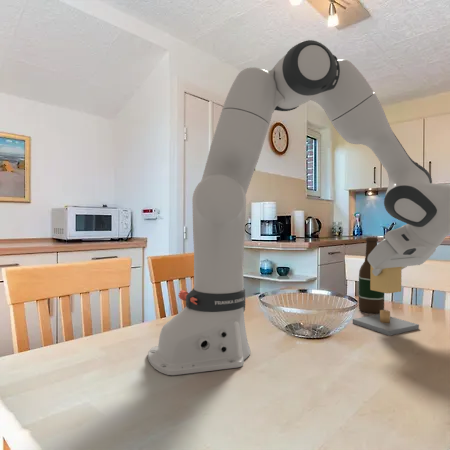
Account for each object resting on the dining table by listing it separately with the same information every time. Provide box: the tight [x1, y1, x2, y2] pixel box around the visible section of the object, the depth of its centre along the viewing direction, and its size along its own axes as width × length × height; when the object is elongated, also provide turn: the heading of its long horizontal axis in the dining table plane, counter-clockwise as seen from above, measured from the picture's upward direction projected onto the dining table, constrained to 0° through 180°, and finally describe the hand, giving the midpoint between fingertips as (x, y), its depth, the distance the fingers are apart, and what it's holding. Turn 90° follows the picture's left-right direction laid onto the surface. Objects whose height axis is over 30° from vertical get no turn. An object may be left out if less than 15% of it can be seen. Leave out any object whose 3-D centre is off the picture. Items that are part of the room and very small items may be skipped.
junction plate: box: [352, 309, 420, 336], centre depth 98 cm, size 12×12×4 cm
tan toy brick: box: [370, 266, 403, 294], centre depth 98 cm, size 6×6×9 cm
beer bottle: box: [358, 236, 385, 315], centre depth 114 cm, size 8×8×24 cm
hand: (383, 272), depth 98 cm, fingers closed on tan toy brick, 6 cm apart
